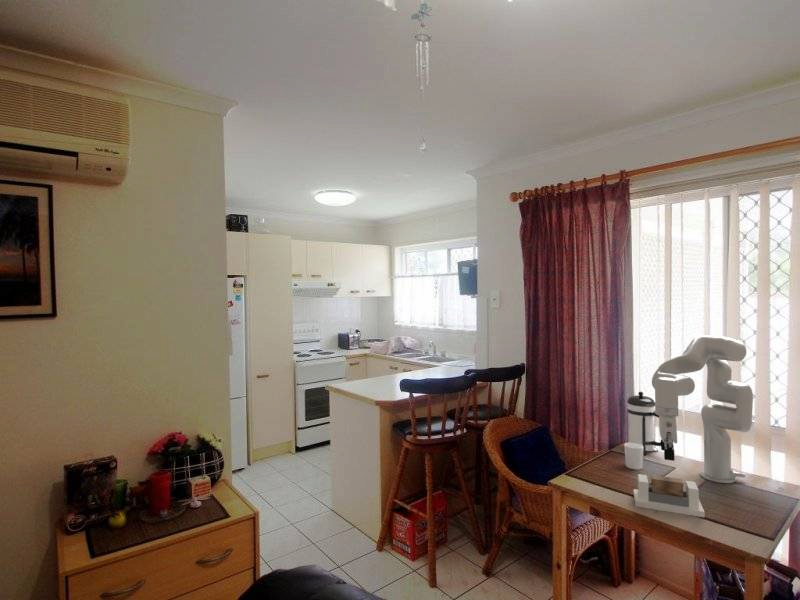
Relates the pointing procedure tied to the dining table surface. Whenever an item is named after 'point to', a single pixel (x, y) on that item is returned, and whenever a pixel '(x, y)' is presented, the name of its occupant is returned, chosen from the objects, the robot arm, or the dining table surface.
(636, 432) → the coffee press
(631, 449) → the white cup
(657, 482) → the brown wooden block
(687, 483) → the track frame
